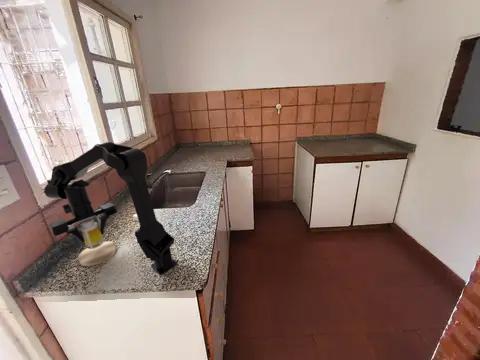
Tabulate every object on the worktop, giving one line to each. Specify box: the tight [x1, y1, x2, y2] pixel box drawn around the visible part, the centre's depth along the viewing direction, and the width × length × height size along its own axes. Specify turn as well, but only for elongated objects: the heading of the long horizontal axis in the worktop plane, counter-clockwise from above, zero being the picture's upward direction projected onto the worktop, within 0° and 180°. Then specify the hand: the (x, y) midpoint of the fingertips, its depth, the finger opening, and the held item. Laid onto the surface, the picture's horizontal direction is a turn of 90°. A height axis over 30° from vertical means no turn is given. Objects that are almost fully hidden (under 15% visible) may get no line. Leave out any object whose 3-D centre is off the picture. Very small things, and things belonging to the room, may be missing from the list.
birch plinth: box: [77, 240, 118, 267], centre depth 80 cm, size 12×12×2 cm
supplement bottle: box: [79, 217, 105, 249], centre depth 77 cm, size 6×6×10 cm
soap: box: [132, 213, 139, 222], centre depth 103 cm, size 9×6×3 cm, turn 70°
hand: (93, 238), depth 78 cm, fingers closed on supplement bottle, 6 cm apart
